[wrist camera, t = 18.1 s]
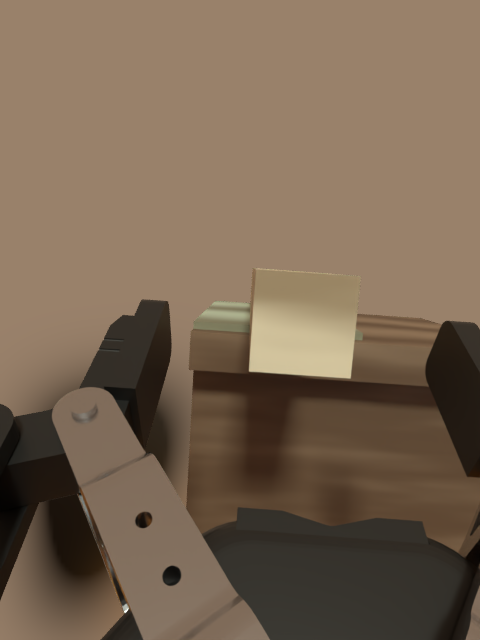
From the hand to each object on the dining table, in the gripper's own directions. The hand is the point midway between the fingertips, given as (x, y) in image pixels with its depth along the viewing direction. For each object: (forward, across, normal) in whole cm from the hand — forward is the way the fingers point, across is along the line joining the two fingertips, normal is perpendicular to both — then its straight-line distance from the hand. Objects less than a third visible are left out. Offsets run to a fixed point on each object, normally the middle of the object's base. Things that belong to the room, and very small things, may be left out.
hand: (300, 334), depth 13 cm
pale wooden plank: (+10, 0, +7) cm, 12 cm away
